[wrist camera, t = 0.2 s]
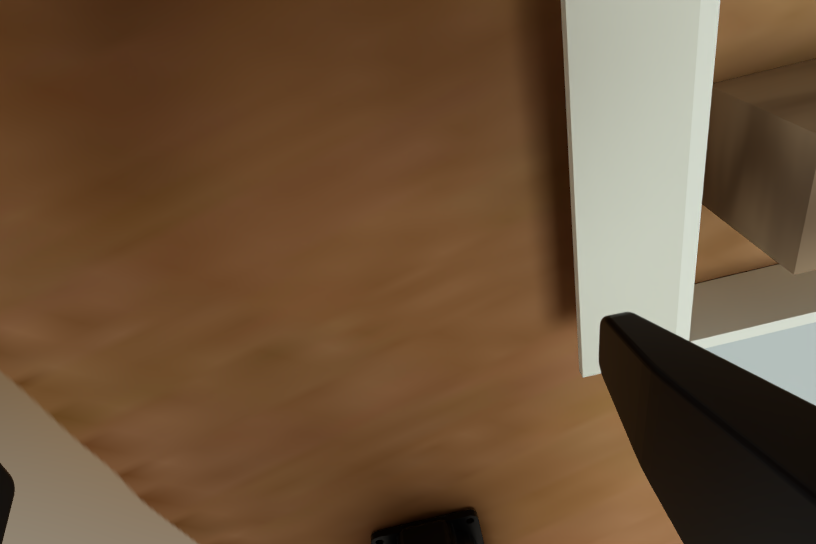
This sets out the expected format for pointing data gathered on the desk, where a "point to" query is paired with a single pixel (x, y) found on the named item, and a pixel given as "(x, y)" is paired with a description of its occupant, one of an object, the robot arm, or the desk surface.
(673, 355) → the robot arm
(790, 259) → the box
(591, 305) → the white shallow rectangular tray
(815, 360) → the mat
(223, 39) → the desk surface
